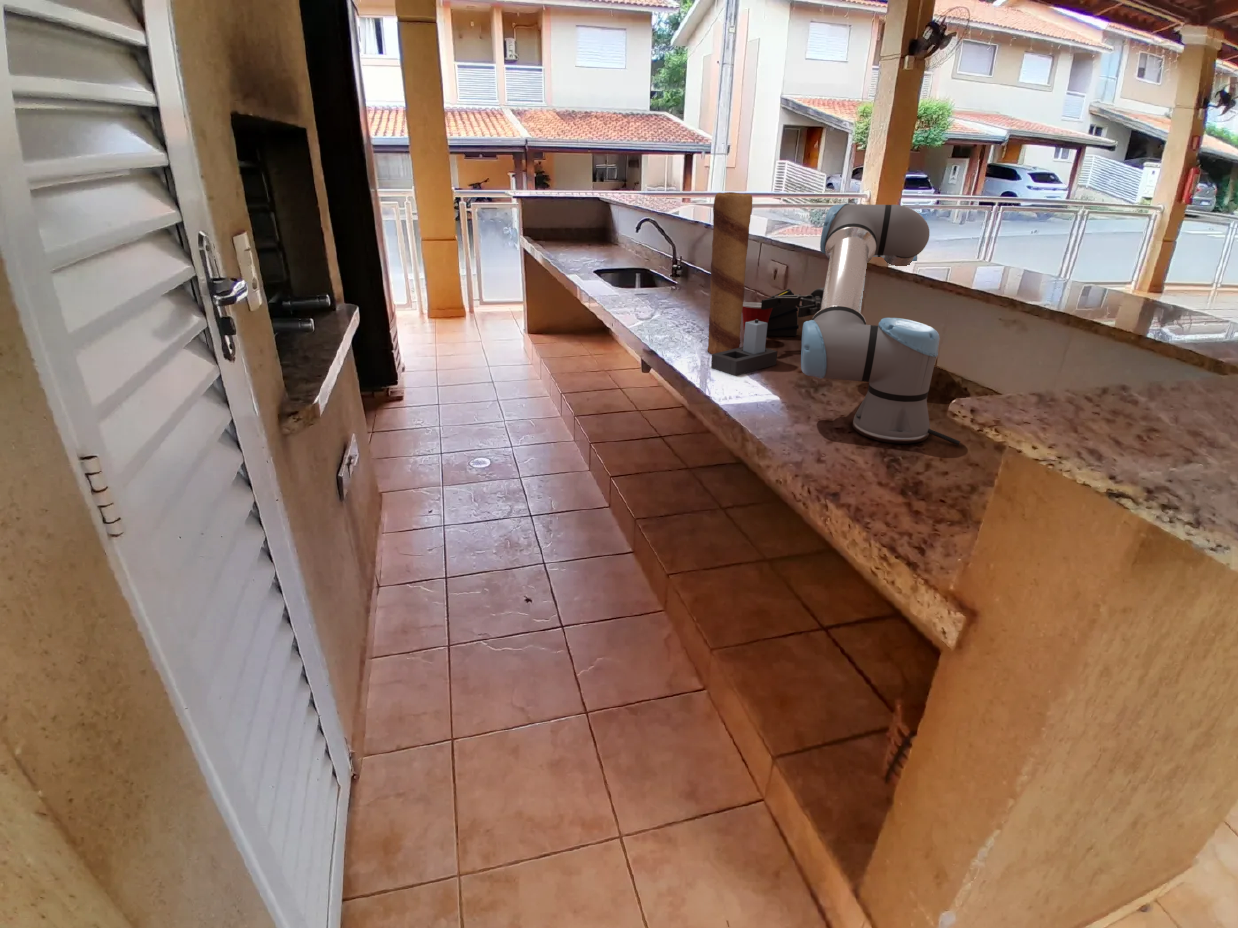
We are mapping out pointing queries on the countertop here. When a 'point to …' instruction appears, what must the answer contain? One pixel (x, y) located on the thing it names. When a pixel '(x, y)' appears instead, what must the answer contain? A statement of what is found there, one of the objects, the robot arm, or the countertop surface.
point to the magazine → (783, 319)
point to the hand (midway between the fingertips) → (780, 308)
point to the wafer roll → (728, 269)
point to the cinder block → (742, 360)
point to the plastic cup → (754, 313)
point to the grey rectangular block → (755, 336)
